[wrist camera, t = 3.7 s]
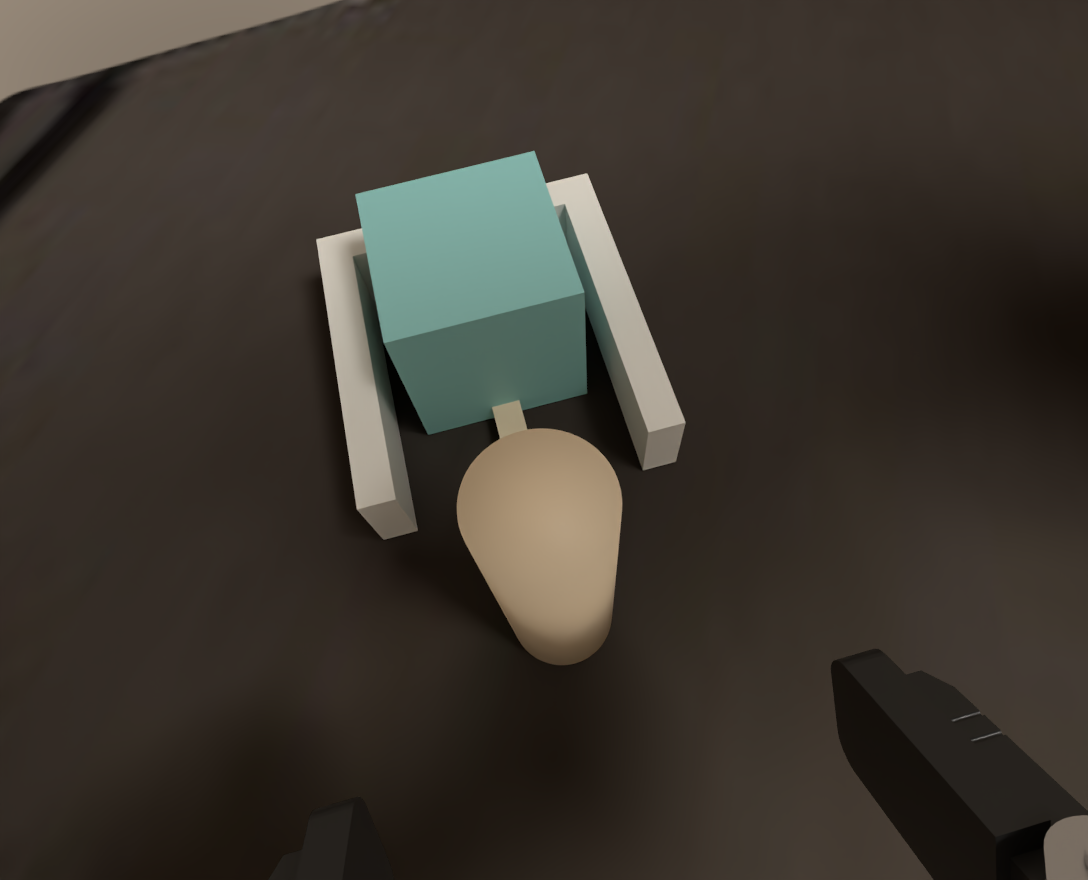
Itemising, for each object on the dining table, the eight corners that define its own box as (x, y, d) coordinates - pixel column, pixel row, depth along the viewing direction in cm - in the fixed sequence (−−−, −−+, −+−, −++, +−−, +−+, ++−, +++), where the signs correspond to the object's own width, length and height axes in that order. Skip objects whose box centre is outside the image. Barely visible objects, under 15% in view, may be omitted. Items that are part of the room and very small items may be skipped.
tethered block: (545, 269, 29) (522, 35, 20) (667, 637, 22) (716, 538, 13) (401, 305, 28) (310, 85, 19) (481, 689, 22) (400, 625, 13)
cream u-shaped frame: (588, 228, 29) (587, 173, 27) (675, 461, 25) (685, 422, 22) (342, 290, 29) (316, 239, 26) (383, 539, 24) (356, 509, 21)
